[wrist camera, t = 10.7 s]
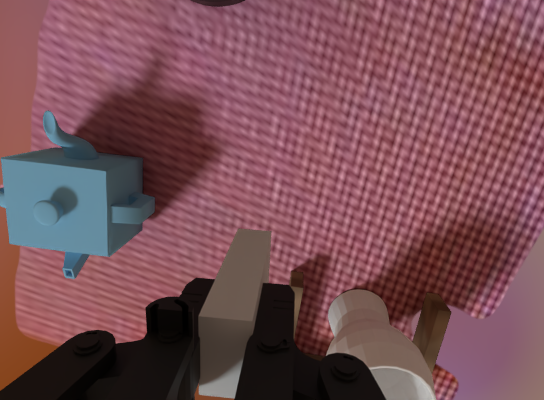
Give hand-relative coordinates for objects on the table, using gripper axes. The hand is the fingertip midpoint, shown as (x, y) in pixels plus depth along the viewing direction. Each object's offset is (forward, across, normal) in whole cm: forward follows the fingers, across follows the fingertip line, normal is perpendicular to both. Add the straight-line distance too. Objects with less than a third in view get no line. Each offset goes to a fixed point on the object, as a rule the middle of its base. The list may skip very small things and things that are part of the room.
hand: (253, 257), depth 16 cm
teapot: (+27, -22, -5) cm, 35 cm away
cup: (+27, +11, -20) cm, 36 cm away
